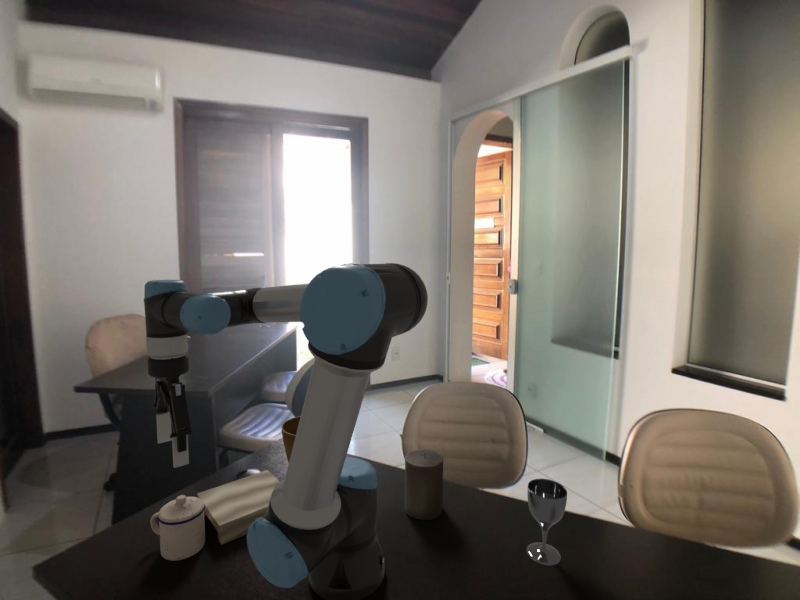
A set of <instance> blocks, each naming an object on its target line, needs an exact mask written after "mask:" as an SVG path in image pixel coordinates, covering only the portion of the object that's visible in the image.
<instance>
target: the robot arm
mask: <svg viewBox="0 0 800 600" xmlns="http://www.w3.org/2000/svg"><path fill="white" fill-rule="evenodd" d="M428 298H429V296H428V291H427V287H426V285H425V282H424V281H423V279H422V277H421V276H420V275H419V274H418V273H417V272H416V271H415V270H414V269H412V268H410V267H409V266H407V265H404V264H400V263H393V262H390V263H389V262H387V263H362V264H361V263H360V264H359V263H357V262H354V263H352V262H351V263H344V264H340V265H335V266H331V267H328V268H326V269H324V270H322V271H320V272H319V273H318V274H316V275H315V276H314V277H313V278H311V280H310V282H309V283H300V284H299V283H297V284H287V285H277V286H268V287H267V286H265V287H261V286H260V287H253V288H244V289H242V288H241V289H236V290H235V289H233V290H220V291H218V290H217V291H209V292H207V291H205V292H188V290H187V285H186V283H185V281H184V280H181V279H154V280H152V279H151V280H148V281H147V282H146V283H145V284H144V297H143V306H144V320H145V332H146V335H145V342H146V343H145V346H146V355H147V356H149V357H148V358H147V359H146V360H147V374H148V375H149V377H152V378H155V381H154V382H155V383H154V384H155V385H154V396H153V397H154V398H153V405H152V406H153V408H154V409H155V410H154V411H155V413H156V415H155V416H156V434H157V435H156V438H157V439H156V440H157V444H158V445H159V444H162V443H166V442H171V441H172V444H171V445H172V462H173V463H172V465H173V467H172V468H174V469H175V468H179V467H180V468H181V467H183V466H186V465H189V464H190V457H189V456H190V453H189V435H190V434H192V427H191V421H190V417H189V416H190V414H189V410H188V404H187V397H186V385H185V384H184V383H183V382H182V381H180V376H182V375H185V374H187V373H188V372H189V370H190V358H189V357H190V356H189V355H188V354H187V353H188V352H189V343H188V342H190V341H191V339H192V338H191V336H188V333H193V334H195V335H196V334H197V335H199V336H200V335H217V334H219V333H220V332H222V331H223V330H225V329H227V328H232V327H237V326H243V325H244V326H245V325H250V324H267V323H270V324H271V323H302V324H303V327H302V328H301V329H302V332H303V334H304V336H305V338H306V340H307V341H308V342H307V348H308V350H309V353H310V354H311V355H312V357H313V358H314V363H313V365H312V370H311V373H310V378H309V382H308V385H307V389H306V394H305V397H304V401H303V406H302V410H301V413H300V416H301V417H300V421H299V425H298V429H297V433H296V437H295V441H294V445H293V449H292V453H291V457H290V461H289V463H288V466H287V469H286V473H285V478H283V479H281V480H279V481H280V482H279V483H278V484H277V485H276V486H275V488H274V489H273V491H272V494H271V498H270V502H269V506H268V510H267V512H266V513H265V515H264V516H262V517H259V518H257V519H256V520H255V522H253V523H252V524H251V525H250V527H249V529H248V532H247V534H246V544H247V549H248V553H249V556H250V557H251V559H252V562H253V564H254V566H255V567H256V569H257V570H258V571H259V573H260V574H261V575H262V577H263V578H265V580H267V581H268V583H271V584H272V585H273V586H275V587H278V588H280V589H283V588H285V589H289V588H293V587H294V586H296V585H297V584H298V583H299V582H300V581H302V580H305V579H307V577H308V583H309V586H310V588H311V589H312V591H313V592H314V593H315V594H316V595H317V596H319V597H320V598H322V599H324V600H364V599H365V598H367V597H369V596H370V595H372V594H373V593H374V592H375V591H377V589H379V587H380V586H381V584H382V583H383V581H384V578H385V570H386V569H385V568H386V567H385V556H384V554H383V550H382V548H381V545H380V541H379V539H378V535H377V510H378V509H377V501H378V500H377V497H378V496H377V495H378V482H377V481H378V480H377V470H376V468H375V467H374V465H372V464H371V462H368V461H366V460H364V459H362V458H358V457H353V456H347V455H348V451H349V448H350V445H351V441H352V438H353V435H354V431H355V428H356V425H357V421H358V417H359V414H360V410H361V407H362V404H363V401H364V397H365V394H366V391H367V386H368V384H369V380H370V377H371V374H372V373H374V372H375V371H378V370H380V369H381V368H383V366H384V364H385V361H386V358H387V355H388V352H389V349H390V345H391V341H392V339H393V338H395V337H398V336H400V335H403V334H405V333H407V332H410V331H411V330H413V329H414V328H416V326H417V325H418V324H419V323H421V321H422V319H423V318H424V316H425V314H426V311H427V308H428V302H429V301H428Z"/></svg>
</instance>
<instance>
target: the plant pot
mask: <svg viewBox="0 0 800 600" xmlns="http://www.w3.org/2000/svg"><path fill="white" fill-rule="evenodd" d="M300 417H301V415H299V416H294V417H292V418H289V419H287V420H285V421H284V422H282V424H281V427H280V428H281V429H280V430H281V435H282V442H283V447H284V452H285V456H286V459H287V462H288V464H289V461H290V457H291V453H292V449H293V445H294V441H295V437H296V433H297V429H298V425H299V421H300Z"/></svg>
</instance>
